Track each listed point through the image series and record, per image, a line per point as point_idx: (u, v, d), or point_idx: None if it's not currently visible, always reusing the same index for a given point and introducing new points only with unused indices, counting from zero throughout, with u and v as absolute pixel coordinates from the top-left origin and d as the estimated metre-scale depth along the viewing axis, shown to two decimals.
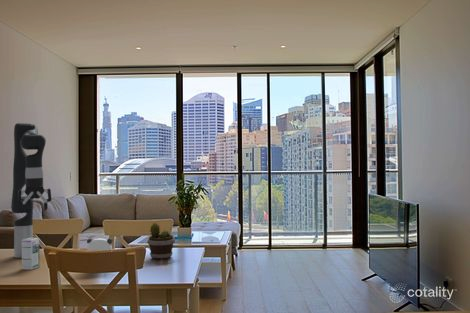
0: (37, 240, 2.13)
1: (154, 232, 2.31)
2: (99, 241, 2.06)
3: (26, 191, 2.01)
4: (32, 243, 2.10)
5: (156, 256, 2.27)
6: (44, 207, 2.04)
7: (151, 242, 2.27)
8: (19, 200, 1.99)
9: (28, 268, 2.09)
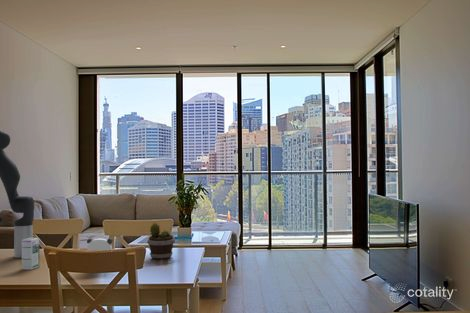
0: (37, 240, 2.13)
1: (154, 232, 2.31)
2: (99, 241, 2.06)
3: None
4: (32, 243, 2.10)
5: (156, 256, 2.27)
6: None
7: (151, 242, 2.27)
8: None
9: (28, 268, 2.09)
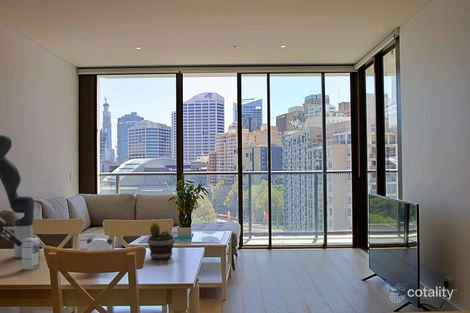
0: (37, 240, 2.13)
1: (154, 232, 2.31)
2: (99, 241, 2.06)
3: None
4: (32, 242, 2.10)
5: (156, 256, 2.27)
6: (16, 244, 2.09)
7: (151, 242, 2.27)
8: None
9: (28, 268, 2.09)
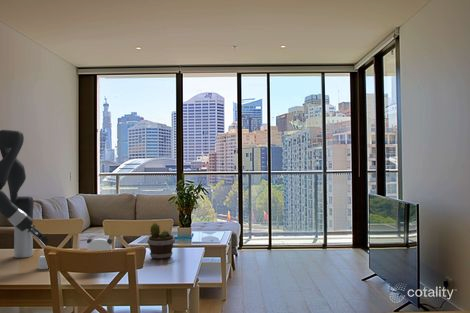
0: None
1: (154, 232, 2.31)
2: (99, 241, 2.06)
3: None
4: None
5: (156, 256, 2.27)
6: (43, 241, 2.15)
7: (151, 242, 2.27)
8: None
9: (39, 265, 2.09)
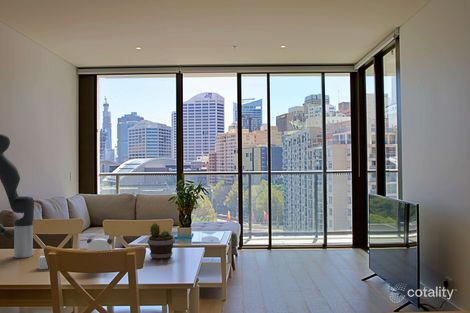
0: None
1: (154, 232, 2.31)
2: (99, 241, 2.06)
3: None
4: None
5: (156, 256, 2.27)
6: (6, 236, 2.07)
7: (151, 242, 2.27)
8: None
9: (39, 265, 2.09)
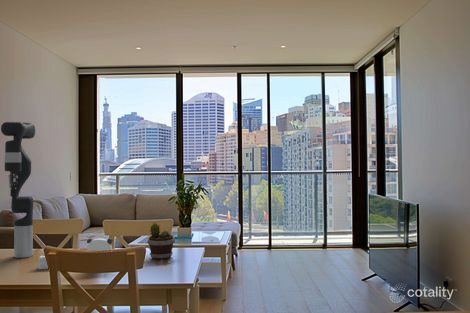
0: None
1: (154, 232, 2.31)
2: (99, 241, 2.06)
3: None
4: None
5: (156, 256, 2.27)
6: (10, 193, 2.15)
7: (151, 242, 2.27)
8: (9, 184, 2.17)
9: (39, 265, 2.09)
